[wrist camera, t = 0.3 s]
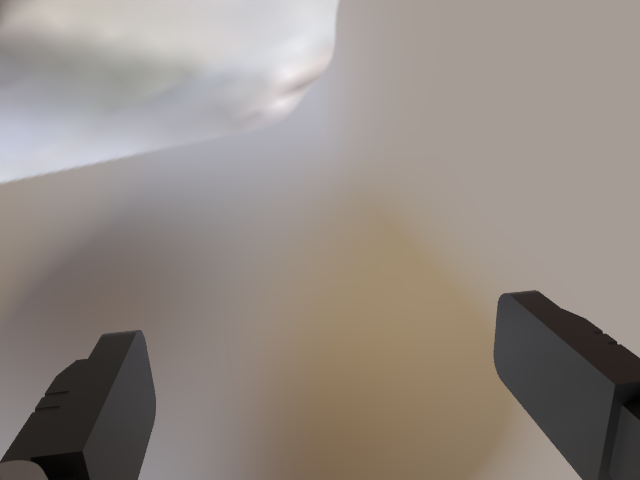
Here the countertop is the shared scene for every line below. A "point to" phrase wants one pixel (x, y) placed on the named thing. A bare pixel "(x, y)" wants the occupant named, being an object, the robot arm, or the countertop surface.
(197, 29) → the countertop surface
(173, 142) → the countertop surface
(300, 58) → the countertop surface
